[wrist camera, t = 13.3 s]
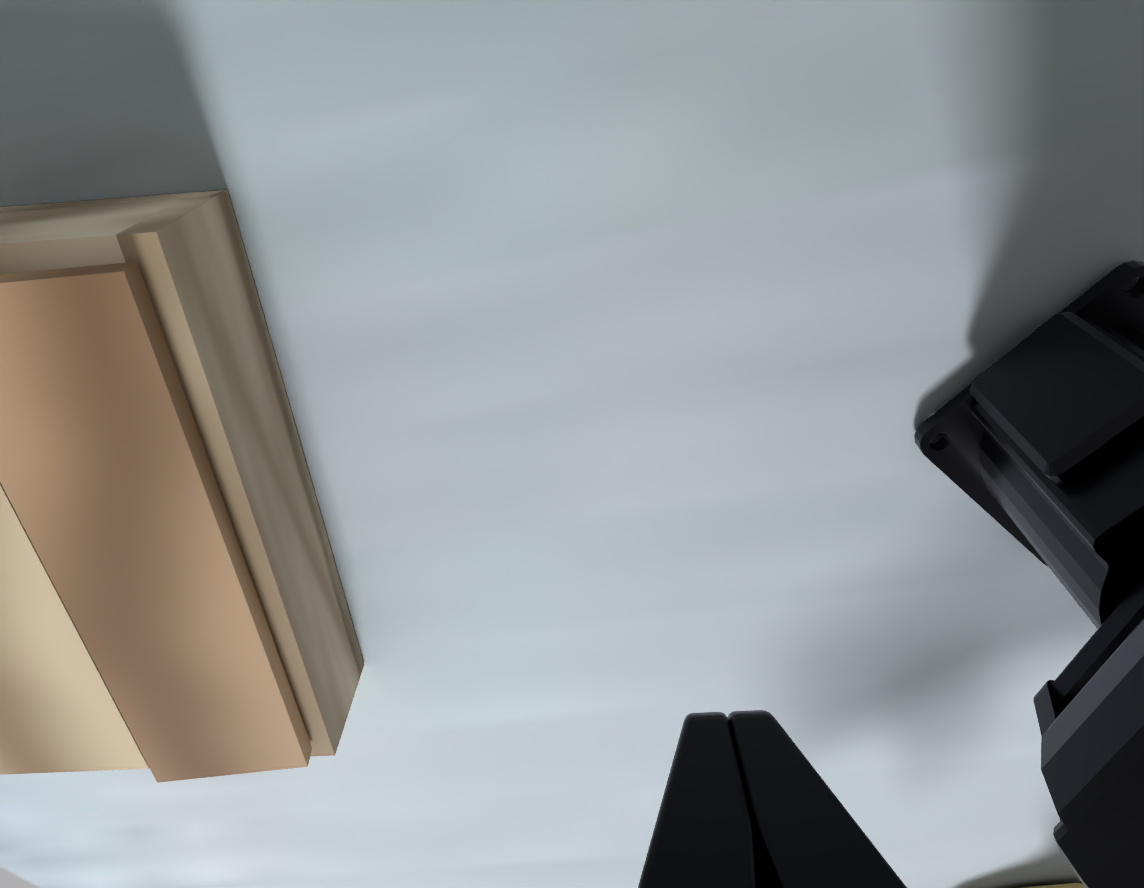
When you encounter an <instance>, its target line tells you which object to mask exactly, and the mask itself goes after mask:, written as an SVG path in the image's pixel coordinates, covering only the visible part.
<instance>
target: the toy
mask: <svg viewBox="0 0 1144 888" xmlns="http://www.w3.org/2000/svg"><path fill="white" fill-rule="evenodd" d="M1022 888H1085V887H1084V885H1083V884H1081V883H1067V884H1056V885H1044V886H1033V887H1022Z"/></svg>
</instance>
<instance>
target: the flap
mask: <svg viewBox="0 0 1144 888" xmlns="http://www.w3.org/2000/svg"><path fill="white" fill-rule="evenodd" d="M0 482H1V484H2V486H3V488H4V490H5V492H6V494H7V496H8V498H9V500H10V502H11V503H12V505H13V507H14V509H15V511H16V513H17V515H18V517H19V519H20V521H21V523H22V524H23V526H24V528H25V530H26V532H27V534H28V536H29V538H30V540H31V542H32V544H33V545H34V547H35V549H36V551H37V553H38V555H39V557H40V559H41V561H42V563H43V565H44V567H45V568H46V570H47V572H48V574H49V576H50V578H51V580H52V582H53V584H54V586H55V588H56V589H57V591H58V593H59V595H60V597H61V599H62V601H63V603H64V605H65V607H66V609H67V611H68V612H69V614H70V616H71V618H72V620H73V622H74V624H75V626H76V628H77V630H78V632H79V633H80V635H81V637H82V639H83V641H84V643H85V645H86V647H87V649H88V651H89V653H90V655H91V656H92V658H93V660H94V662H95V664H96V666H97V668H98V670H99V672H100V674H101V676H102V677H103V679H104V681H105V683H106V685H107V687H108V689H109V691H110V693H111V695H112V697H113V698H114V700H115V702H116V704H117V706H118V708H119V710H120V712H121V714H122V716H123V718H124V720H125V721H126V723H127V725H128V727H129V729H130V731H131V733H132V735H133V737H134V739H135V741H136V742H137V744H138V746H139V748H140V750H141V752H142V754H143V756H144V758H145V760H146V762H147V764H148V765H149V767H150V769H151V771H152V773H153V775H154V777H155V779H156V781H157V782H166V781H175V780H185V779H194V778H204V777H213V776H222V775H232V774H241V773H251V772H260V771H269V770H279V769H288V768H298V767H307V766H308V763H309V759H310V755H311V751H312V746H311V743H310V741H309V738H308V735H307V732H306V730H305V727H304V724H303V721H302V718H301V716H300V713H299V710H298V707H297V705H296V702H295V699H294V696H293V694H292V691H291V688H290V685H289V682H288V680H287V677H286V674H285V671H284V669H283V666H282V663H281V660H280V657H279V655H278V652H277V649H276V646H275V644H274V641H273V638H272V635H271V632H270V630H269V627H268V624H267V621H266V619H265V616H264V613H263V610H262V607H261V605H260V602H259V599H258V596H257V594H256V591H255V588H254V585H253V582H252V580H251V577H250V574H249V571H248V569H247V566H246V563H245V560H244V557H243V555H242V552H241V549H240V546H239V544H238V541H237V538H236V535H235V532H234V530H233V527H232V524H231V521H230V519H229V516H228V513H227V510H226V507H225V505H224V502H223V499H222V496H221V494H220V491H219V488H218V485H217V482H216V480H215V477H214V474H213V471H212V469H211V466H210V463H209V460H208V457H207V455H206V452H205V449H204V446H203V444H202V441H201V438H200V435H199V432H198V430H197V427H196V424H195V421H194V419H193V416H192V413H191V410H190V407H189V405H188V402H187V399H186V396H185V394H184V391H183V388H182V385H181V382H180V380H179V377H178V374H177V371H176V369H175V366H174V363H173V360H172V358H171V355H170V352H169V349H168V346H167V344H166V341H165V338H164V335H163V333H162V330H161V327H160V324H159V321H158V319H157V316H156V313H155V310H154V308H153V305H152V302H151V299H150V296H149V294H148V291H147V288H146V285H145V283H144V280H143V277H142V274H141V271H140V269H139V266H138V263H137V262H128V263H117V264H107V265H96V266H86V267H75V268H65V269H54V270H44V271H33V272H22V273H12V274H1V275H0Z"/></svg>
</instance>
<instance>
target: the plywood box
mask: <svg viewBox="0 0 1144 888" xmlns="http://www.w3.org/2000/svg"><path fill="white" fill-rule="evenodd" d="M128 262H137V263H138V266H139V269H140V271H141V274H142V277H143V280H144V283H145V285H146V288H147V291H148V294H149V296H150V299H151V302H152V305H153V308H154V310H155V313H156V316H157V319H158V321H159V324H160V327H161V330H162V333H163V335H164V338H165V341H166V344H167V346H168V349H169V352H170V355H171V358H172V360H173V363H174V366H175V369H176V371H177V374H178V377H179V380H180V382H181V385H182V388H183V391H184V394H185V396H186V399H187V402H188V405H189V407H190V410H191V413H192V416H193V419H194V421H195V424H196V427H197V430H198V432H199V435H200V438H201V441H202V444H203V446H204V449H205V452H206V455H207V457H208V460H209V463H210V466H211V469H212V471H213V474H214V477H215V480H216V482H217V485H218V488H219V491H220V494H221V496H222V499H223V502H224V505H225V507H226V510H227V513H228V516H229V519H230V521H231V524H232V527H233V530H234V532H235V535H236V538H237V541H238V544H239V546H240V549H241V552H242V555H243V557H244V560H245V563H246V566H247V569H248V571H249V574H250V577H251V580H252V582H253V585H254V588H255V591H256V594H257V596H258V599H259V602H260V605H261V607H262V610H263V613H264V616H265V619H266V621H267V624H268V627H269V630H270V632H271V635H272V638H273V641H274V644H275V646H276V649H277V652H278V655H279V657H280V660H281V663H282V666H283V669H284V671H285V674H286V677H287V680H288V682H289V685H290V688H291V691H292V694H293V696H294V699H295V702H296V705H297V707H298V710H299V713H300V716H301V718H302V721H303V724H304V727H305V730H306V732H307V735H308V738H309V741H310V743H311V746H312V751H311V755H310V756H329V755H335V753H336V750H337V747H338V744H339V741H340V738H341V735H342V731H343V728H344V725H345V722H346V719H347V716H348V713H349V710H350V707H351V703H352V700H353V697H354V694H355V691H356V688H357V685H358V682H359V679H360V675H361V672H362V669H363V666H364V662H363V658H362V655H361V651H360V648H359V644H358V641H357V637H356V634H355V630H354V627H353V623H352V620H351V616H350V613H349V610H348V606H347V603H346V599H345V596H344V592H343V589H342V585H341V582H340V578H339V575H338V571H337V568H336V564H335V561H334V558H333V554H332V551H331V547H330V544H329V540H328V537H327V533H326V530H325V526H324V523H323V519H322V516H321V512H320V509H319V505H318V502H317V499H316V495H315V492H314V488H313V485H312V481H311V478H310V474H309V471H308V467H307V464H306V460H305V457H304V453H303V450H302V446H301V443H300V440H299V436H298V433H297V429H296V426H295V422H294V419H293V415H292V412H291V408H290V405H289V401H288V398H287V394H286V391H285V388H284V384H283V381H282V377H281V374H280V370H279V367H278V363H277V360H276V356H275V353H274V349H273V346H272V342H271V339H270V335H269V332H268V329H267V325H266V322H265V318H264V315H263V311H262V308H261V304H260V301H259V297H258V294H257V290H256V287H255V283H254V280H253V276H252V273H251V270H250V266H249V263H248V259H247V256H246V252H245V249H244V245H243V242H242V238H241V235H240V231H239V228H238V224H237V221H236V218H235V214H234V211H233V207H232V204H231V200H230V197H229V193H228V190H216V191H203V192H191V193H178V194H165V195H152V196H139V197H126V198H113V199H100V200H88V201H75V202H62V203H49V204H36V205H23V206H10V207H0V275H1V274H12V273H22V272H33V271H44V270H54V269H65V268H75V267H86V266H96V265H107V264H117V263H128ZM124 769H149V765H148V764H147V762H146V760H145V758H144V756H143V754H142V752H141V750H140V748H139V746H138V744H137V742H136V741H135V739H134V737H133V735H132V733H131V731H130V729H129V727H128V725H127V723H126V721H125V720H124V718H123V716H122V714H121V712H120V710H119V708H118V706H117V704H116V702H115V700H114V698H113V697H112V695H111V693H110V691H109V689H108V687H107V685H106V683H105V681H104V679H103V677H102V676H101V674H100V672H99V670H98V668H97V666H96V664H95V662H94V660H93V658H92V656H91V655H90V653H89V651H88V649H87V647H86V645H85V643H84V641H83V639H82V637H81V635H80V633H79V632H78V630H77V628H76V626H75V624H74V622H73V620H72V618H71V616H70V614H69V612H68V611H67V609H66V607H65V605H64V603H63V601H62V599H61V597H60V595H59V593H58V591H57V589H56V588H55V586H54V584H53V582H52V580H51V578H50V576H49V574H48V572H47V570H46V568H45V567H44V565H43V563H42V561H41V559H40V557H39V555H38V553H37V551H36V549H35V547H34V545H33V544H32V542H31V540H30V538H29V536H28V534H27V532H26V530H25V528H24V526H23V524H22V523H21V521H20V519H19V517H18V515H17V513H16V511H15V509H14V507H13V505H12V503H11V502H10V500H9V498H8V496H7V494H6V492H5V490H4V488H3V486H2V484H1V482H0V774H23V773H48V772H74V771H99V770H124Z"/></svg>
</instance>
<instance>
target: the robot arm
mask: <svg viewBox="0 0 1144 888" xmlns="http://www.w3.org/2000/svg"><path fill="white" fill-rule="evenodd" d="M1136 277H1139V280H1138V283H1137V285H1136V286H1135V287H1134V288H1133V289H1131V290H1129V291H1127V292H1126V291H1125V290H1126V287H1127V285H1128V283H1129V282H1130V281H1131V280H1132V279H1134V278H1136ZM937 434H944V435H943V437H942V438H941V439H940V440H939V441H937V442H935V443H930V440H931V439H932V438H933V436H935V435H937ZM915 443H916V444H917V446H918V447H919V449H920V450H921V451H922V453H923V454H924V455H925V456H926V457H927V458H928V459H929V460H930V461H931V462H932V463H934V464H935V465H936V466H937V467H938V468H939V469H940V470H941V471H942V472H943V473H945V474H946V475H947V476H948V477H949V478H950V479H951V480H952V481H953V482H954V483H956V484H957V485H958V486H959V487H960V488H961V489H962V490H963V491H964V492H965V493H967V494H968V495H969V496H970V497H971V498H972V499H973V500H974V501H975V502H976V503H978V504H979V505H980V506H981V507H982V508H983V509H984V510H985V511H986V512H987V513H989V514H990V515H991V516H992V517H993V518H994V519H995V520H996V521H997V522H998V523H1000V524H1001V525H1002V526H1003V527H1004V528H1005V529H1006V530H1007V531H1008V532H1009V533H1011V534H1012V535H1013V536H1014V537H1015V538H1016V539H1017V540H1018V541H1019V542H1020V543H1022V544H1023V545H1024V546H1025V547H1026V548H1027V549H1028V550H1029V551H1030V552H1031V553H1033V554H1034V555H1035V556H1036V557H1037V558H1038V559H1039V560H1040V561H1041V562H1042V563H1044V564H1045V565H1047V566H1049V568H1050V569H1051V570H1052V571H1053V573H1054V574H1055V575H1056V576H1057V578H1058V579H1059V580H1060V582H1061V583H1062V584H1063V585H1064V587H1065V588H1066V589H1067V590H1068V592H1069V593H1070V594H1071V596H1072V597H1073V598H1074V599H1075V601H1076V602H1077V603H1078V604H1079V606H1080V607H1081V608H1082V610H1083V611H1084V612H1085V613H1086V615H1087V616H1088V617H1089V618H1090V620H1091V621H1092V622H1093V623H1094V625H1095V626H1096V627H1097V629H1098V630H1097V631H1096V632H1095V633H1094V635H1093V636H1092V637H1091V638H1090V639H1089V641H1088V642H1087V643H1086V644H1085V645H1084V647H1083V648H1082V649H1081V650H1080V651H1079V652H1078V654H1077V655H1076V656H1075V657H1074V658H1073V660H1072V661H1071V662H1070V663H1069V664H1068V666H1067V667H1066V668H1065V669H1064V670H1063V672H1062V673H1061V674H1060V675H1059V676H1058V677H1057V679H1056V680H1055V681H1054V680H1049V681H1047V682H1046V683H1045V685H1044V686H1043V687H1042V688H1041V689H1040V691H1039V692H1038V693H1037V694H1036V695H1035V697H1034V704H1035V708H1036V713H1037V717H1038V722H1039V726H1040V731H1041V735H1042V743H1041V770H1042V773H1043V776H1044V778H1045V781H1046V784H1047V786H1048V789H1049V792H1050V794H1051V797H1052V800H1053V802H1054V805H1055V807H1056V810H1057V813H1058V815H1059V817H1060V822H1059V823H1058V824H1057V825H1056V826H1055V827H1054V833H1053V834H1054V837H1055V839H1056V842H1057V844H1058V847H1059V849H1060V852H1061V853H1062V855H1063V856H1064V857H1065V859H1066V860H1067V862H1068V863H1069V865H1070V866H1071V868H1072V869H1073V871H1074V872H1075V874H1076V875H1077V876H1078V878H1079V879H1080V881H1081V882H1082V884H1083V885H1084V887H1085V888H1144V263H1143V262H1139V261H1130V262H1126V263H1123V264H1122V265H1120V266H1118V267H1117V268H1115V269H1114V270H1113V271H1111V272H1110V273H1109V274H1108V275H1106V276H1105V277H1104V278H1103V279H1101V280H1100V281H1099V282H1098V283H1096V284H1095V285H1094V286H1093V287H1091V288H1090V289H1089V290H1088V291H1086V292H1085V293H1084V294H1083V295H1081V296H1080V297H1079V298H1078V299H1076V300H1075V301H1074V302H1073V303H1072V304H1070V305H1069V306H1068V307H1067V308H1065V309H1064V310H1063V311H1062V312H1060V313H1059V314H1056V315H1054V316H1053V317H1052V318H1051V319H1049V320H1048V321H1047V322H1046V323H1044V324H1043V325H1042V326H1041V327H1039V328H1038V329H1037V330H1036V331H1035V332H1033V333H1032V334H1031V335H1030V336H1028V337H1027V338H1026V339H1025V340H1023V341H1022V342H1021V343H1020V344H1018V345H1017V346H1016V347H1015V348H1013V349H1012V350H1011V351H1010V352H1008V353H1007V354H1006V355H1005V356H1003V357H1002V358H1001V359H1000V360H998V361H997V362H996V363H995V364H993V365H992V366H991V367H990V368H989V369H987V370H986V371H985V372H984V373H982V374H981V375H980V376H979V377H977V378H976V379H975V380H974V381H973V383H972V384H971V385H969V386H968V387H967V388H966V389H964V390H963V391H962V392H961V393H959V394H958V395H957V396H956V397H955V398H953V399H952V400H951V401H950V402H948V403H947V404H946V405H945V406H943V407H942V408H941V409H940V410H938V411H937V412H936V413H935V414H933V415H932V416H931V417H930V418H928V419H927V420H926V421H925V422H923V423H922V424H921V425H920V426H919V428H918V429H917V430H916V433H915ZM638 888H907V887H906V886H905V885H904V884H903V882H902V881H901V880H900V878H899V877H898V876H897V875H896V873H895V872H894V871H893V869H892V868H891V867H890V866H889V864H888V863H887V862H886V860H885V859H884V858H883V857H882V855H881V854H880V853H879V851H878V850H877V849H876V848H875V846H874V845H873V844H872V842H871V841H870V840H869V839H868V837H867V836H866V835H865V833H864V832H863V831H862V830H861V828H860V827H859V826H858V824H857V823H856V822H855V821H854V819H853V818H852V817H851V815H850V814H849V813H848V812H847V810H846V809H845V808H844V806H843V805H842V804H841V803H840V801H839V800H838V799H837V797H836V796H835V795H834V794H833V792H832V791H831V790H830V788H829V787H828V786H827V785H826V783H825V782H824V781H823V779H822V778H821V777H820V776H819V774H818V773H817V772H816V770H815V769H814V768H813V767H812V765H811V764H810V763H809V761H808V760H807V759H806V758H805V756H804V755H803V754H802V752H801V751H800V750H799V749H798V747H797V746H796V745H795V743H794V742H793V741H792V740H791V738H790V737H789V736H788V734H787V733H786V732H785V731H784V729H783V728H782V727H781V725H780V724H779V723H778V722H777V720H776V719H775V718H774V717H773V716H772V715H771V714H770V713H769V712H767V711H763V710H755V711H734V712H732V713H730V714H729V716H728V718H727V716H726V715H725V714H724V713H721V712H707V713H691V714H689V715H687V716H686V718H685V720H684V723H683V727H682V730H681V734H680V738H679V741H678V745H677V749H676V752H675V756H674V759H673V763H672V767H671V770H670V774H669V778H668V781H667V785H666V788H665V792H664V796H663V799H662V803H661V807H660V810H659V814H658V818H657V821H656V825H655V828H654V832H653V836H652V839H651V843H650V846H649V850H648V854H647V857H646V861H645V865H644V868H643V872H642V875H641V879H640V883H639V886H638Z"/></svg>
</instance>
